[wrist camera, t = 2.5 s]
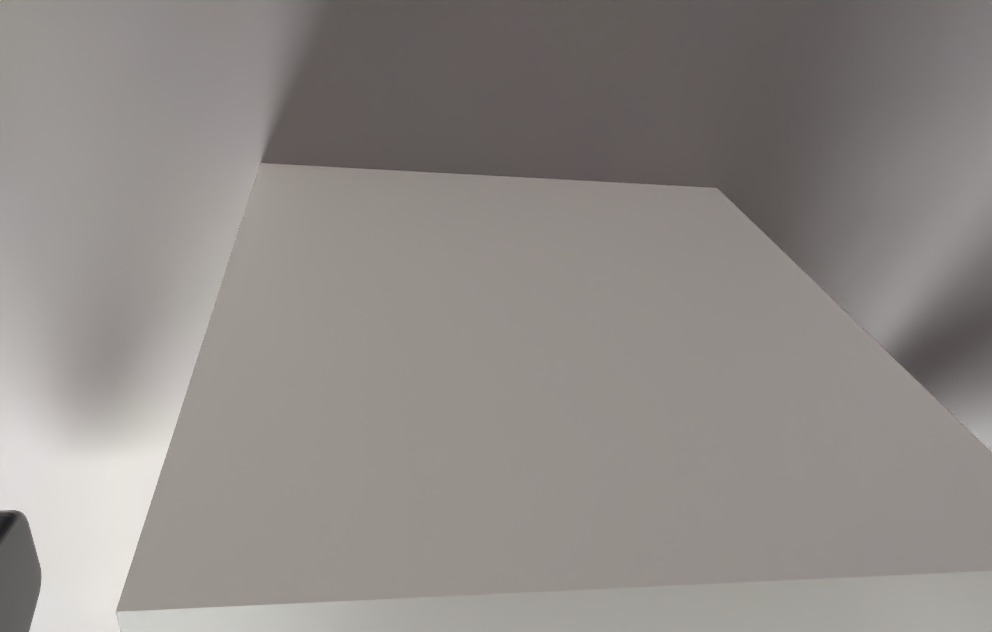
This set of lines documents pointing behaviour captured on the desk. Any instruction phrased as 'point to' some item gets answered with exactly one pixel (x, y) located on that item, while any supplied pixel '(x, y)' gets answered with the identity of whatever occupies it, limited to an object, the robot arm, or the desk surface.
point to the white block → (547, 427)
